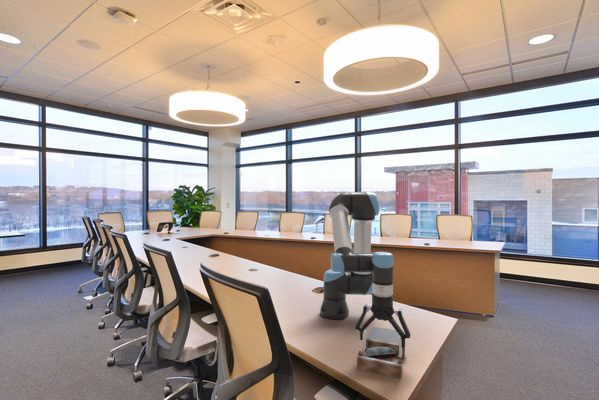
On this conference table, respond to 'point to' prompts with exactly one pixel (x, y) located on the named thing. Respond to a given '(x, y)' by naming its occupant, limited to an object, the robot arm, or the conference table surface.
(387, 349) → the packaged food
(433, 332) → the conference table surface
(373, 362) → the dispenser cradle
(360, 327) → the robot arm
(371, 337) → the slate mat
